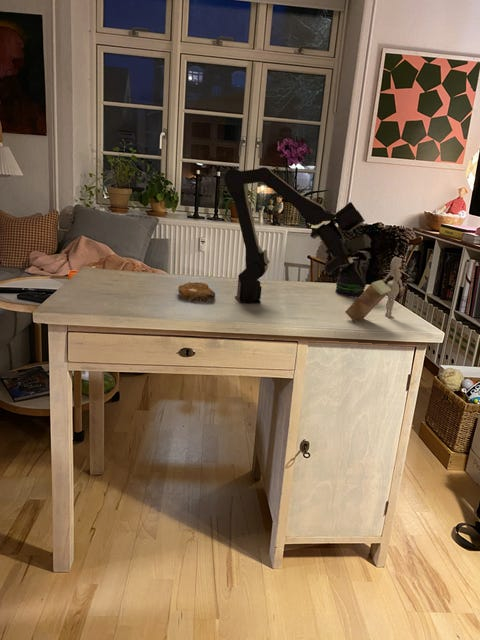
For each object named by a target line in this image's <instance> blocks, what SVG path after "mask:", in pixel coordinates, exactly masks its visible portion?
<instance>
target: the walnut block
mask: <svg viewBox="0 0 480 640" xmlns="http://www.w3.org/2000/svg"><path fill="white" fill-rule="evenodd" d="M382 280H383V279H380V280H376V281H373V282H371V284H369V286H368V287H366V288H365V289H364V292H363V293H362V294H361V295H360V296H359V297H357V299H356V300H355V301H354V302H353V303H352V304H351V305H350V306H349V307H348V308H347V309H346V310H345V311H344V313H345V314H346V315H347V316H348V317H349V318H350V319H351V321H353V322H354V323H356V322H359V321H361V320H364V319H365V318H366V317H367V316H368V315H369V314H370V313H371V312H372V310H373V309H374V308H376V306H377V305H378V304H379V303H380V302H382V300H383V299H384V298H385V297H386V296H388V293H389V292H390V291H391V289H390V288H389V287H388V286H387V283H385V281H384V282H383V281H382Z"/></svg>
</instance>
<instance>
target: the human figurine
mask: <svg viewBox="0 0 480 640" xmlns="http://www.w3.org/2000/svg"><path fill="white" fill-rule="evenodd" d="M402 261H403V259H402V258H401V257H398V256H393V258H391V261H390V264H389V267H390V271H389V273H388V274H386V276H385V278H383V279H381V280H382V281H383V282H384V283H385V282H386V281H387V280H388V278H389V277H390V276H391V277H393V279H392V280H389V281H388V282H387V283H386V285H387V286H388V287H389V288H390V289H391V291H390V292H389V293H388V294H387V301H386V304H385V307H386V312H385V314H384V316H385V317H388V318H390V319H395V316H393V315H392V311H393V308H394V304H395V301H396V298H397V296H398V294H399V293H400V291H401V292H405V289H406V288H405V287H404V286H403V281H402V279H401V277H402V273H401V271H400V270H399V269H400V268H401V267H402Z"/></svg>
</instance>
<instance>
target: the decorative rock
mask: <svg viewBox="0 0 480 640" xmlns="http://www.w3.org/2000/svg"><path fill="white" fill-rule="evenodd" d="M177 290H178V294H179V295H180V296H181V299H182V300H183V301H188V302H191V303H201V301H202V302H203V303H204V302H207V301H208V300H211V299H212V300H213V299H214V300H215V299H216V292H215V291H214V290H212V288H211V287H209V285H208V283H206V282H191V281H190V282H187V283H184V284H183V285H182V284H181V285H178V289H177Z"/></svg>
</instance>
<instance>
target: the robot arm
mask: <svg viewBox="0 0 480 640" xmlns="http://www.w3.org/2000/svg"><path fill="white" fill-rule="evenodd" d="M223 182H224V185H225V187H226V190H227V192H228V194H229V195H230V198H231V199H232V201H233V203H234V207H235V211H236V214H237V220H238V223H239V227H240V231H241V236H242V239H243V244H244V248H245V268H244V269H243V270H242V271H241V272H240V273H239V274H238V276H237V277H238V279H237V290H236V295H234V298H235V299H236V301H238V302H239V303H246V304H247V303H249V304H251V303H255V304H256V303H257V304H259V303H261V297H262V286H261V281H260V280H259V279H260V278H261V277H263V276H264V275H265V273H266V272H267V270H268V268H269V263H270V259H269V258H268V251H267V249H264V250H262V248H261V246H260V245H259V240H258V236H257V231H256V227H255V224H254V219H253V216H252V211H251V207H250V203H249V185H250V184H256V183H264V184H265V185H266V186H268V187H269V188H270V189H272V191H274V192H275V193H277V194H278V195H279V196H280V197H281V198H283V199H284V200H286V201H287V202H288V203H289V204H290V205H292V206H293V207H294V208H295V209H296V210H297V212H298V213H299V214H300V215H301V216H302V217H303V219H304V221H306V222H307V223H308V225H311V226H318V225H320V224H321V225H320V226H318V227H317V228H313V227H312V228H311V232H310V235H309V236H310V237H311V238H312V239H314V240H315V239H316V238H319V239H320V240H321V242H322V244H323V246H324V247H325V248H326V250H325V253H326V255H329V254H330V256H331V257H332V258H331V259H330V260H329V261H328V262H326V263H325V264H324V268H323V269H324V270H323V271H325V273H326V274H327V276H329V275H332V274H334V272H335V270H336V269H337V268H339V269H341V271H340V272H337V273H338V276H339V275H341V276H343V277H345V278H347V279H348V280H350V281H352V282H353V283H355V284H357V285H358V286H360V287H361V288H364V287H365V288H366V286H367V283H366V282H365V280H366V279H365V280H364V276H363V273H362V269H361V267H362V264H363V263H364V262H365V261H367V260H368V259H369V260H370V259H371V258H372V257H371V256H372V255H371V254H370V255H369V253H370V252H369V251H366V250H364V249H368V248H369V249H370V248H372V247H371V246H372V245H371V242H372V239H371V238H370V236H369V235H367V234H366V233H365V234H361V235H358V236H357V238H354V239H349V238H347V237H346V238H345V237H344V235H343V234H342V233H341V231H342V232H343V233H344V232H346V231H347V233H350V232H351V231H352V230H355V228H357V227H358V226H360V225H361V224H363V223H364V222H365V219H364V218H363V216H362V214H361V213H360V211H359V210H357V208H356V207H355V206H354V204H353V203H352V201H349V202H348V203H346V204H345V205H344V207H342V208H341V209H340V210H338V211H336V212H334V211H330V210H326V209H325V207H324V206H322V204H320V203H319V202H317V201H314V200H312V199H310V198H308V197H306V196H304V195H302V194H301V193H300V192H299V191H297V190H296V189H295V188H293V187H292V186H291V185H289V184H288V183H287V182H286V181H284V180H283V179H282V178H280V177H279V176H278V175H277V174H276V173H274V172H273V171H272V170H271V169H270V168H268V167H264V166H263V167H260V168H255V169H248V170H242V169H239V168H231V169H229V170H227V171H226V172H225V174H224V176H223ZM323 222H328V223H323ZM322 223H323V224H322ZM336 224H337V225H336ZM337 226H338V227H337ZM339 228H340V230H341V231H340V230H339ZM362 249H363V250H362ZM358 250H360V251H361V252H358ZM368 252H369V253H368ZM340 267H341V268H340Z"/></svg>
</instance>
